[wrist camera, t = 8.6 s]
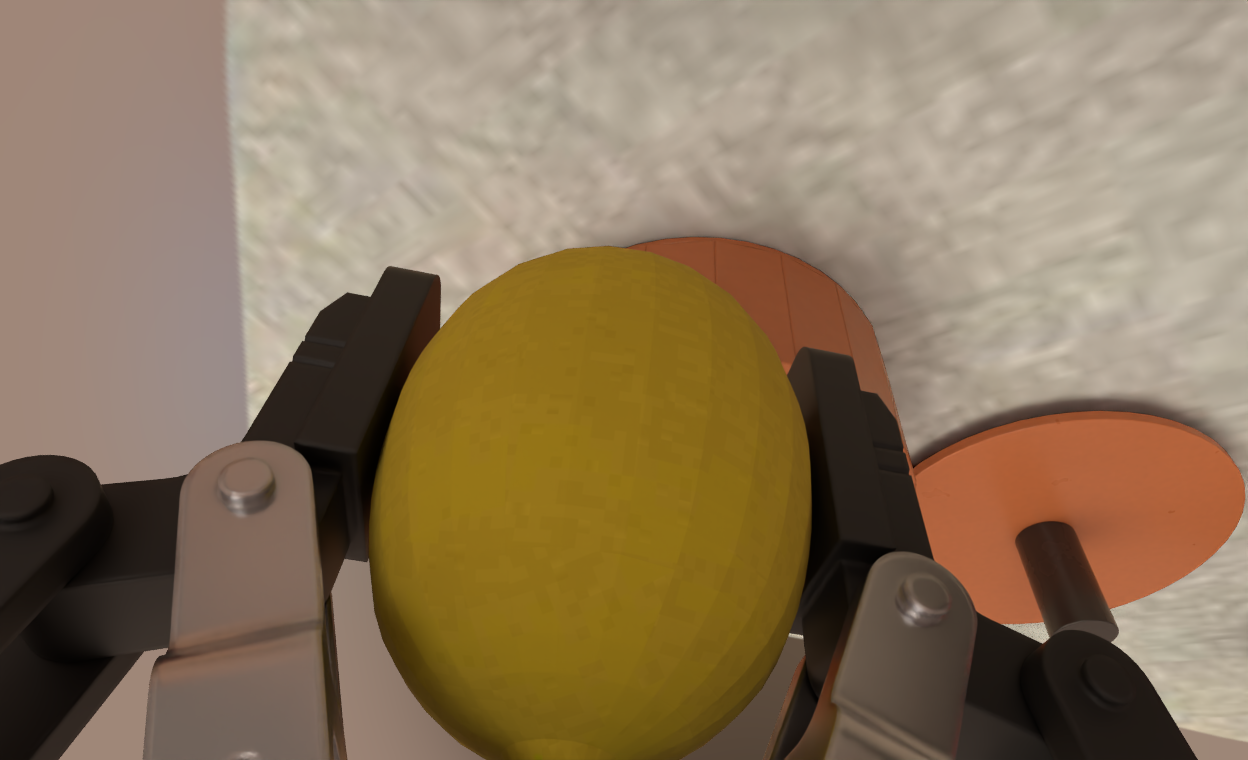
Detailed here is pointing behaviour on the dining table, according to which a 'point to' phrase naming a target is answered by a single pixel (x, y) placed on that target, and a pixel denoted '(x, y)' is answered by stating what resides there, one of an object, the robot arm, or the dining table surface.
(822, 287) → the pan
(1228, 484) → the lid
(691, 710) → the lemon
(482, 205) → the dining table surface
